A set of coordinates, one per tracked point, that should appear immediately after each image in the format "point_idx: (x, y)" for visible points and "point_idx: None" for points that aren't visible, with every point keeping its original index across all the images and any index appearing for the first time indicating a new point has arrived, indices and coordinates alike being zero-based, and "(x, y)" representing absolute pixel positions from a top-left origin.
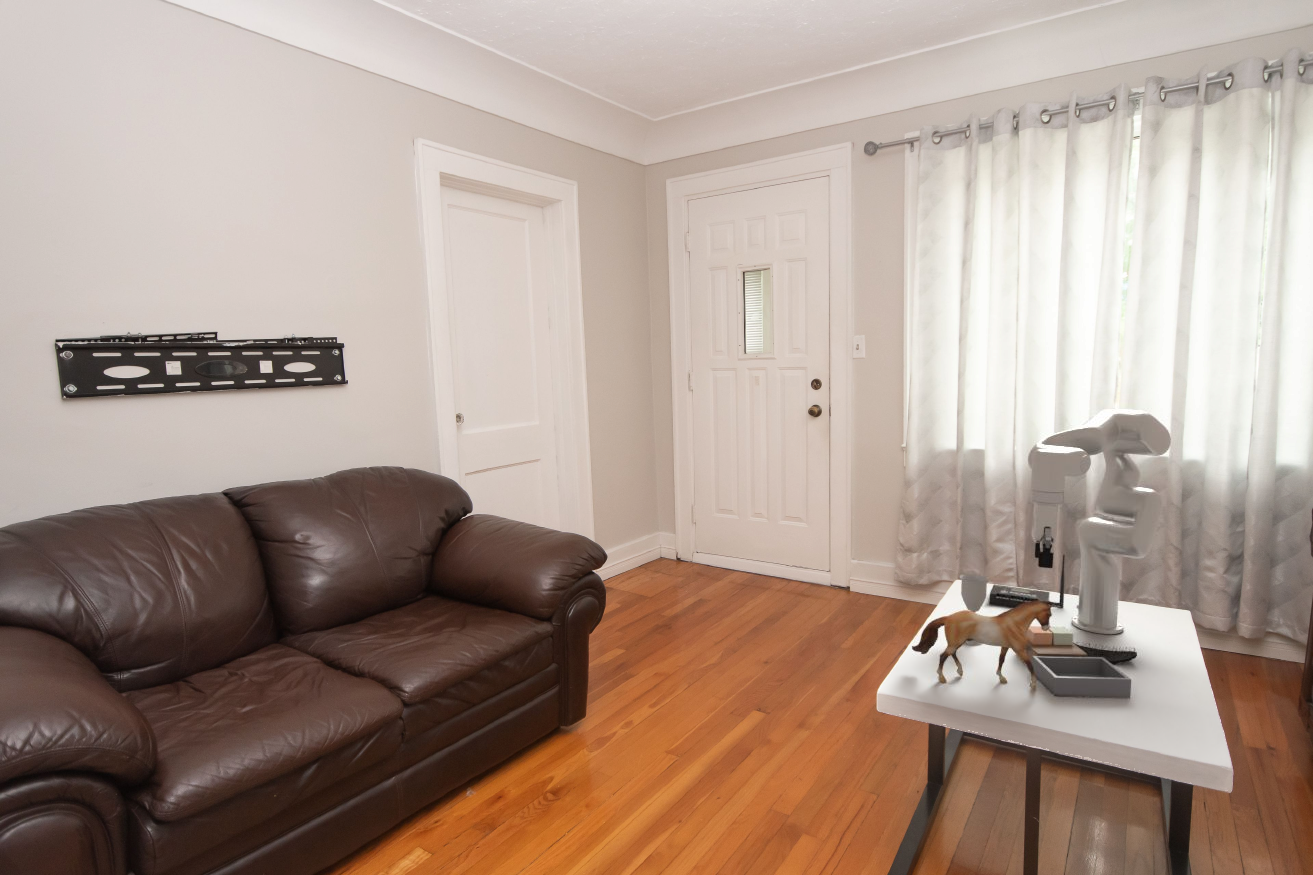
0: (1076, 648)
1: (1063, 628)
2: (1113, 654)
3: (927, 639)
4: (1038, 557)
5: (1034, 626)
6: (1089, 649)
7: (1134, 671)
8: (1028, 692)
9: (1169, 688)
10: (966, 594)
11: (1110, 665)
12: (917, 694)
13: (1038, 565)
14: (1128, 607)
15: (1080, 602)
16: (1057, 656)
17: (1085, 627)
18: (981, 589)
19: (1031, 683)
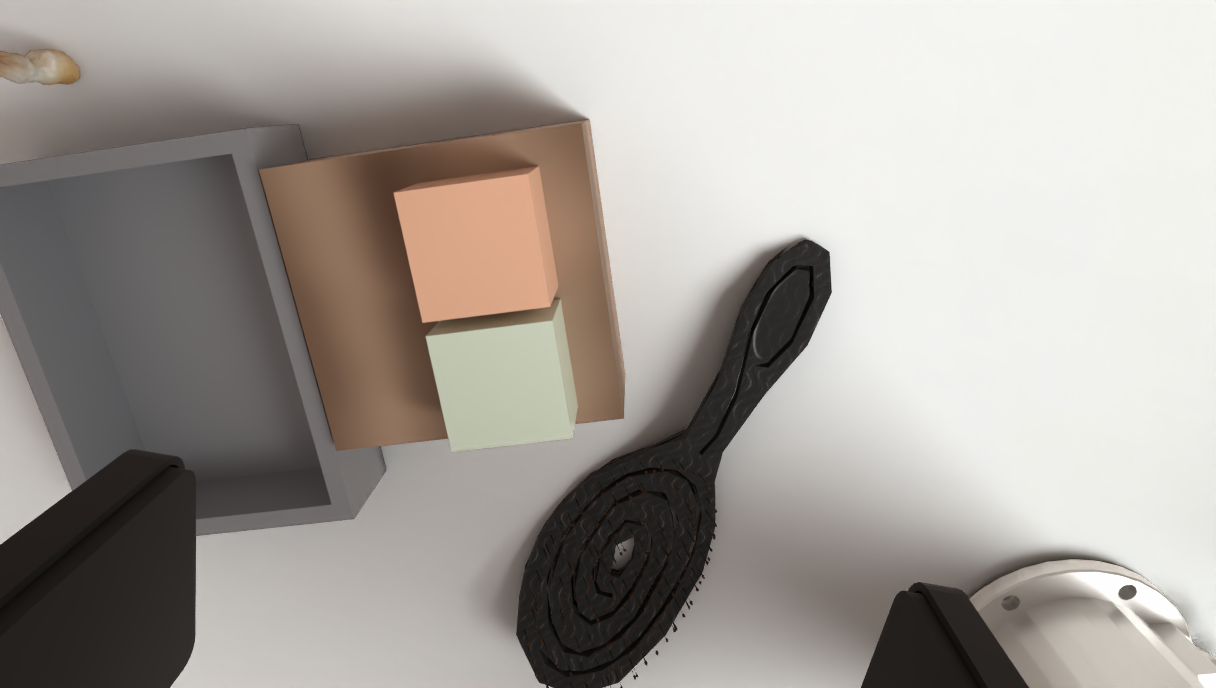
0: (415, 422)
1: (536, 422)
2: (564, 593)
3: None
4: (45, 558)
5: (535, 237)
6: (685, 517)
7: (469, 613)
8: (29, 36)
9: (320, 672)
10: None
11: (248, 515)
12: None
13: (121, 455)
14: None
15: (1150, 685)
16: (286, 283)
17: (987, 598)
18: None
19: (31, 57)
